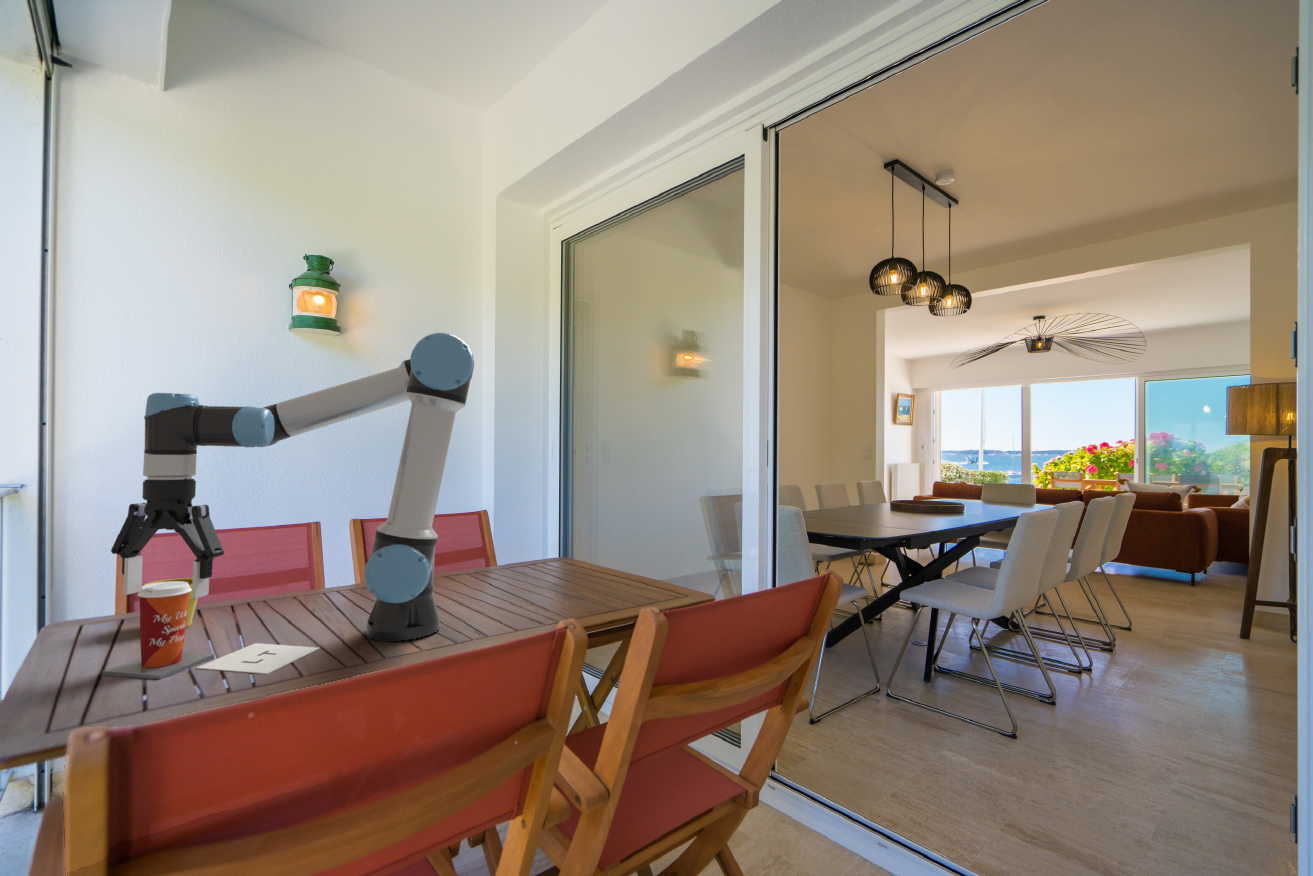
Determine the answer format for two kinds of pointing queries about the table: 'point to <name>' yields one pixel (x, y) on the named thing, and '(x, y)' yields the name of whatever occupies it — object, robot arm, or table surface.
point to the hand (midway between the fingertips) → (166, 594)
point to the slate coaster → (137, 670)
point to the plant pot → (191, 602)
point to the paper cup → (163, 622)
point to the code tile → (259, 658)
